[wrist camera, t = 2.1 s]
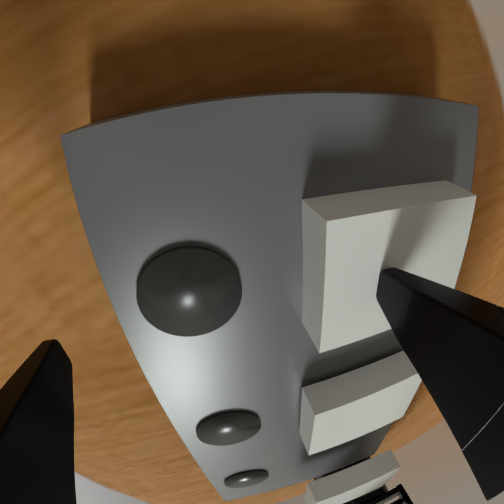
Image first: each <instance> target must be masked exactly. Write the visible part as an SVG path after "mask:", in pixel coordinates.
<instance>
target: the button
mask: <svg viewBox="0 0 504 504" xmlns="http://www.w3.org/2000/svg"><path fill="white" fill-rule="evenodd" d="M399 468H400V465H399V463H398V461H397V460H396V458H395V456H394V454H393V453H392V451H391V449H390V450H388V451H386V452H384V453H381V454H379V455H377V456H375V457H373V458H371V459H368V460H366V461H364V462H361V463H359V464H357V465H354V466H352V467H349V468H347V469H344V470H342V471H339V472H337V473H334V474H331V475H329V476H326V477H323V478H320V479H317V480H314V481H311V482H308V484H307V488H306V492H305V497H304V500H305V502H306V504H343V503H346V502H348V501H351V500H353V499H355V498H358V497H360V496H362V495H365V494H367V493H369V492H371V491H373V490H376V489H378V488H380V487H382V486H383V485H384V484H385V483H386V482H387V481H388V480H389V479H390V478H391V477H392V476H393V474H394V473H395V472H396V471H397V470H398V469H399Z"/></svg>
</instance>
